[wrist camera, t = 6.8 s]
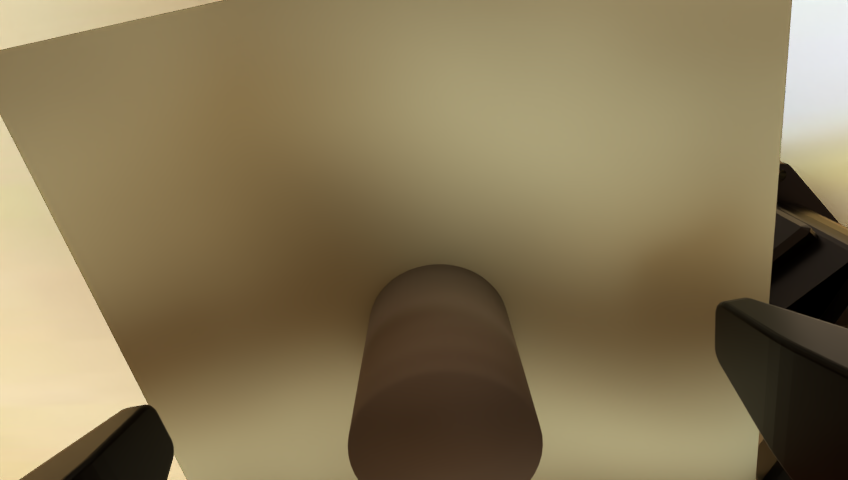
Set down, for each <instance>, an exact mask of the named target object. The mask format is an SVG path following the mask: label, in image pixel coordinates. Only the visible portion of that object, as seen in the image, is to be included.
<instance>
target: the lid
mask: <svg viewBox="0 0 848 480" xmlns="http://www.w3.org/2000/svg"><path fill="white" fill-rule="evenodd" d="M791 7H792V0H223V1H218V2H214V3H209V4H205V5H200V6H196V7H191V8H187V9H182V10H178V11H173V12H169V13H164V14H160V15H155V16H151V17H146V18H142V19H137V20H133V21H128V22H124V23H120V24H115V25H111V26H106V27H102V28H97V29H93V30H88V31H84V32H79V33H75V34H70V35H66V36H61V37H57V38H52V39H48V40H43V41H39V42H34V43H30V44H25V45H21V46H16V47H12V48H7V49H3V50H0V115H1V117H2V119H3V121H4V123H5V125H6V127H7V129H8V131H9V133H10V135H11V137H12V138H13V140H14V142H15V144H16V146H17V148H18V150H19V152H20V154H21V156H22V158H23V160H24V162H25V164H26V166H27V168H28V170H29V172H30V174H31V176H32V178H33V180H34V182H35V183H36V185H37V187H38V189H39V191H40V193H41V195H42V197H43V199H44V201H45V203H46V205H47V207H48V209H49V211H50V213H51V215H52V217H53V219H54V221H55V223H56V225H57V227H58V228H59V230H60V232H61V234H62V236H63V238H64V240H65V242H66V244H67V246H68V248H69V250H70V252H71V254H72V256H73V258H74V260H75V262H76V264H77V266H78V268H79V270H80V272H81V273H82V275H83V277H84V279H85V281H86V283H87V285H88V287H89V289H90V291H91V293H92V295H93V297H94V299H95V301H96V303H97V305H98V307H99V309H100V311H101V313H102V315H103V317H104V318H105V320H106V322H107V324H108V326H109V328H110V330H111V332H112V334H113V336H114V338H115V340H116V342H117V344H118V346H119V348H120V350H121V352H122V354H123V356H124V358H125V360H126V362H127V363H128V365H129V367H130V369H131V371H132V373H133V375H134V377H135V379H136V381H137V383H138V385H139V387H140V389H141V391H142V393H143V395H144V397H145V399H146V401H147V403H148V405H150V406H152V407H154V408H155V409H156V411H157V412H158V414H159V416H160V418H161V420H162V422H163V424H164V426H165V428H166V430H167V432H168V433H169V435H170V437H171V439H172V442H173V446H174V455H175V457H176V459H177V461H178V463H179V465H180V467H181V469H182V471H183V473H184V475H185V477H186V479H187V480H756V468H757V455H758V441H759V430H758V428H757V427H756V425H755V423H754V422H753V420H752V418H751V416H750V415H749V413H748V411H747V410H746V408H745V406H744V405H743V403H742V401H741V399H740V398H739V396H738V394H737V393H736V391H735V389H734V387H733V386H732V384H731V382H730V381H729V379H728V377H727V376H726V374H725V372H724V370H723V369H722V367H721V365H720V364H719V362H718V359H717V356H716V353H715V311H716V307H717V305H718V304H719V303H720V302H722V301H727V300H733V299H738V298H744V297H746V298H752V299H755V300H758V301H761V302H764V303H768V304H769V296H770V283H771V270H772V257H773V244H774V231H775V217H776V204H777V191H778V178H779V165H780V152H781V138H782V125H783V112H784V99H785V86H786V73H787V59H788V46H789V33H790V20H791Z"/></svg>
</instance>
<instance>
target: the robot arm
mask: <svg viewBox="0 0 848 480" xmlns="http://www.w3.org/2000/svg"><path fill="white" fill-rule="evenodd" d="M779 170H780V173H779V178H778V191H777V204H776V217H775V231H774V244H773V257H772V270H771V283H770V296H769V304H768V303H764V302H761V301H758V300H755V299H752V298H746V297H744V298H738V299H733V300H727V301H722V302H720V303H719V304H718V305H717V307H716V311H715V353H716V356H717V359H718V362H719V364H720V365H721V367H722V369H723V370H724V372H725V374H726V376H727V377H728V379H729V381H730V382H731V384H732V386H733V387H734V389H735V391H736V393H737V394H738V396H739V398H740V399H741V401H742V403H743V405H744V406H745V408H746V410H747V411H748V413H749V415H750V416H751V418H752V420H753V422H754V423H755V425H756V427H757V428H758V430H759V441H758V455H757V468H756V480H848V228H847V227H845V226H843V225H841V224H839V223H838V221H837V220H836V219H835V218H834V217H833V215H832V214H831V213H830V212H829V211H828V210H827V208H826V207H825V206H824V205H823V204H822V203H821V201H820V200H819V199H818V198H817V197H816V195H815V194H814V193H813V192H812V191H811V190H810V188H809V187H808V186H807V185H806V184H805V183H804V181H803V180H802V179H801V178H800V177H799V176H798V174H797V173H796V172H795V171H794V170H793V168H792V167H791V166H789V165H788V164H786V163H783V162H781V161H780V165H779ZM173 456H174V446H173V442H172V439H171V437H170V435H169V433H168V432H167V430H166V428H165V426H164V424H163V422H162V420H161V418H160V416H159V414H158V412H157V411H156V409H155V408H154V407H152V406H150V405H141V406H136V407H130V408H126V409H123V410H121V411H120V412H118V413H117V414H115V415H114V416H112V417H111V418H109V419H108V420H106V421H105V422H103V423H102V424H101V425H99V426H98V427H96V428H95V429H93V430H92V431H90V432H89V433H87V434H86V435H84V436H83V437H81V438H80V439H78V440H77V441H76V442H74V443H73V444H71V445H70V446H68V447H67V448H65V449H64V450H62V451H61V452H59V453H58V454H56V455H55V456H53V457H52V458H51V459H49V460H48V461H46V462H45V463H43V464H42V465H40V466H39V467H37V468H36V469H34V470H33V471H31V472H30V473H28V474H27V475H26V476H24V477H23V478H21V479H20V480H167V478H168V474H169V471H170V467H171V464H172V460H173Z"/></svg>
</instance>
